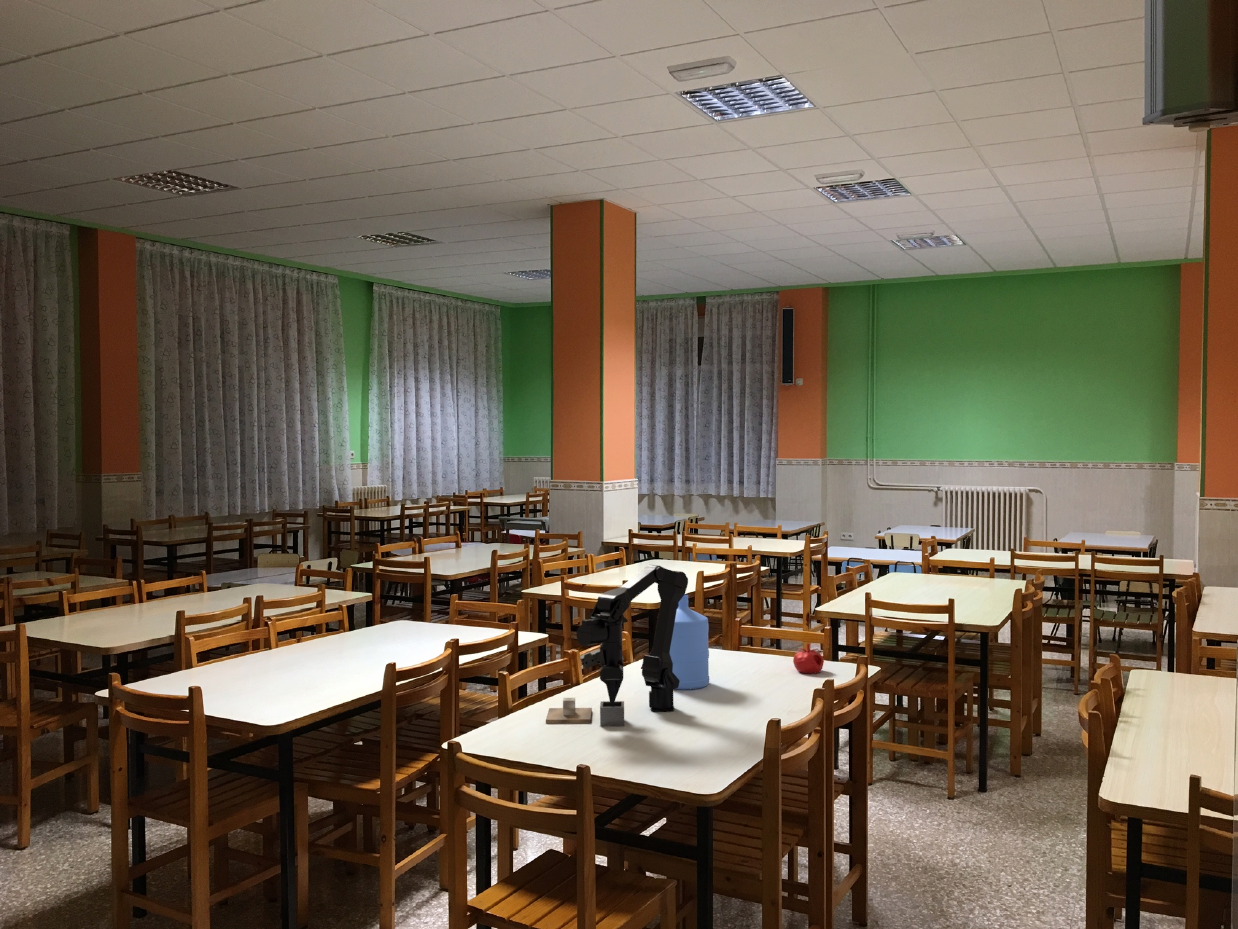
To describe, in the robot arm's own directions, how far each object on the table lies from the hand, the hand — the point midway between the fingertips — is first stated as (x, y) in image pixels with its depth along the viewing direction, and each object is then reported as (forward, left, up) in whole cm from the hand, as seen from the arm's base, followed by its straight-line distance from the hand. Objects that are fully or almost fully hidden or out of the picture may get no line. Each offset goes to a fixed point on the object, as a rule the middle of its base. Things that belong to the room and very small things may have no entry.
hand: (612, 698), depth 263 cm
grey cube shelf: (0, 0, -7) cm, 7 cm away
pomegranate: (-64, -59, -7) cm, 87 cm away
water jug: (-22, -43, -7) cm, 49 cm away
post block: (+12, -6, -7) cm, 15 cm away
